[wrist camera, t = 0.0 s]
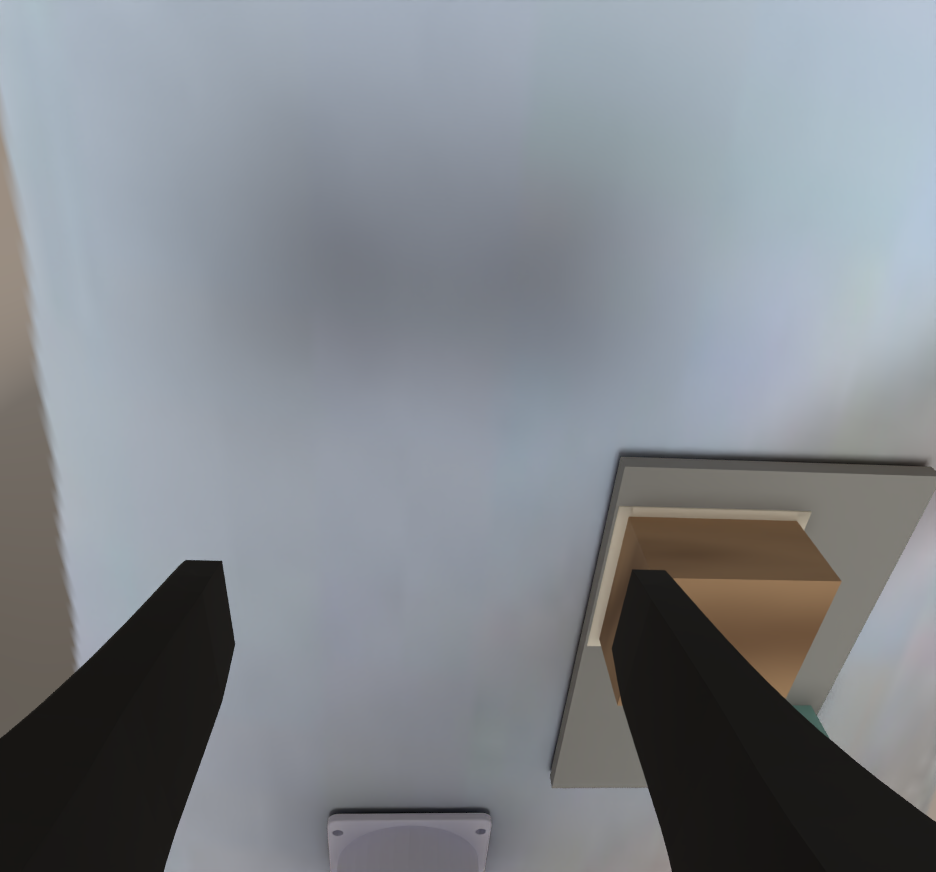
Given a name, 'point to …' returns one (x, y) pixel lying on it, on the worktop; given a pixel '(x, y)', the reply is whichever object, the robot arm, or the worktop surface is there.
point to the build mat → (747, 498)
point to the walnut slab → (734, 585)
